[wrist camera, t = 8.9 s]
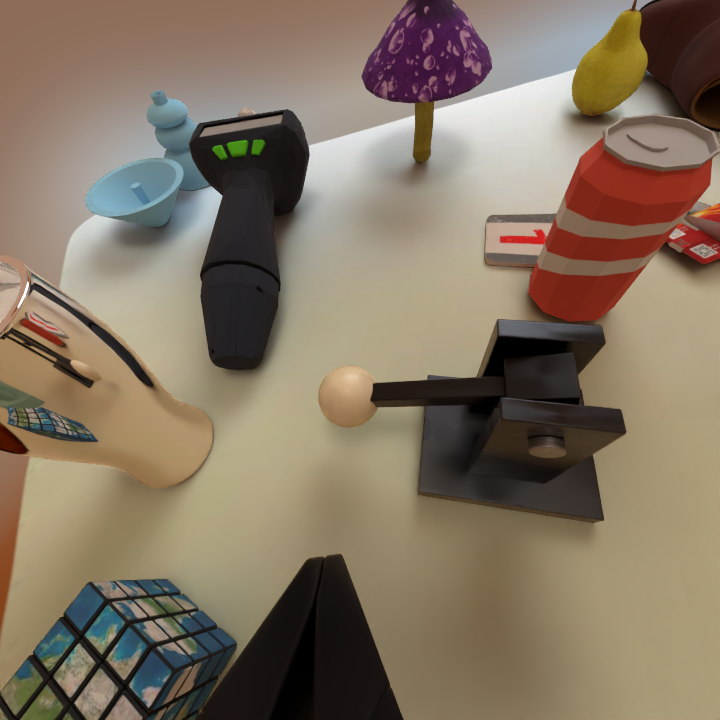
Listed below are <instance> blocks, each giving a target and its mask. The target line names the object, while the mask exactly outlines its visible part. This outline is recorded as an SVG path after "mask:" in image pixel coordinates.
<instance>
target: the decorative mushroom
mask: <svg viewBox="0 0 720 720" xmlns="http://www.w3.org/2000/svg"><path fill="white" fill-rule="evenodd" d="M491 69H492V62H491V57H490V54H489V50H488V47H487V46H486V45H485V43H483V41H482V40H481V39H480V38H479V36H478V34H477V33H476V31H475V29H474V28H473V26H472V24H471V23H470V21H469V19H468V18H467V16H466V15H465V13H464V12H463V11H462V10H461V9H459V8H458V6H457V5H456V4H455V3H454V2H453V1H452V0H408V1H407V2H406V4H405V5H404V7H403V8H402V10H401V11H400V13H399V14H398V15H397V16H396V18H395V19H394V20H393V21H392V23H391V24H390V26H389V27H388V29H387V31H386V32H385V34H384V36H383V38H382V39H381V41H380V43H379V44H378V46H377V48H376V49H375V50H374V51H373V52H372V54H371V55H370V56H369V58H368V60H367V63H366V66H365V68H364V71H363V74H362V79H363V82H364V84H365V87H366V89H367V90H368V91H370V92H371V93H372V94H374V95H375V96H377V97H379V98H382V99H386V100H389V101H393V102H403V103H415V134H414V149H413V157H414V159H415V160H416V161H417V162H425V161H427V160H428V158H429V157H430V155H431V149H430V147H431V137H432V128H433V112H434V101H438V100H443V99H448V98H452V97H455V96H458V95H460V94H463V93H465V92H468V91H470V90H471V89H473V88H474V87H476V86H477V85H479V84H480V83H482V81H483V80H484V79H485V78H486V76H487V75H488V73H489V71H490V70H491Z"/></svg>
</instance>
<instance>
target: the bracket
mask: <svg viewBox="0 0 720 720" xmlns="http://www.w3.org/2000/svg"><path fill="white" fill-rule="evenodd" d="M605 343H606V342H605V337H604V333H603V329H602V326H600V325H584V324H568V323H552V322H536V321H520V320H504V319H498V320H497V322H496V324H495V327H494V330H493V333H492V335H491V338H490V341H489V344H488V346H487V349H486V352H485V355H484V357H483V360H482V363H481V366H480V368H479V371H478V374H477V377H493V376H505V369H504V359H505V358H510V357H523V356H536V355H549V354H561V353H574V357H575V362H576V368H577V374H578V375H579V373H580V372H581V371H582V370H583V369H584V368H585V367H586V365H587V364H588V363H589V362H590V361H591V360H592V359H593V358H594V356H595V355H596V354H597V353H598V352H599V351H600V350H601V348H602V347H603V346H604V345H605ZM439 379H457V378H455V377H444V376H433V375H428V378H427V380H439ZM580 392H581V403H580V405H574V404H564V403H554V402H544V401H535V400H525V399H515V398H505V397H501V398H500V399H499V401H498V403H497V405H453V406H425V413H424V425H423V438H422V450H421V462H420V474H419V486H418V495H422V496H428V497H434V498H441V499H447V500H453V501H459V502H466V503H472V504H478V505H484V506H491V507H497V508H503V509H510V510H516V511H522V512H528V513H535V514H541V515H547V516H553V517H560V518H566V519H572V520H579V521H585V522H591V523H595V522H599V521H603V520H604V516H603V511H602V505H601V499H600V493H599V487H598V482H597V476H596V470H595V464H594V459H593V454H594V453H596V452H597V451H599V450H600V449H602V448H604V447H605V446H607V445H608V444H610V443H612V442H613V441H615V440H616V439H618V438H620V437H621V436H623V435H624V434H626V428H625V424H624V420H623V415H622V411H621V410H620V409H613V408H603V407H593V406H584V401H583V395H582V390H581V389H580Z"/></svg>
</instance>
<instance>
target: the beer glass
mask: <svg viewBox="0 0 720 720" xmlns="http://www.w3.org/2000/svg"><path fill="white" fill-rule="evenodd" d="M212 441H213V428H212V424H211V421H210V419H209V418H208V416H207V415H206V414H205V413H204V412H203V411H201V410H200V409H198V408H196V407H194V406H191V405H189V404H186V403H183V402H181V401H179V400H177V399H176V398H174V397H173V396H172V395H171V394H170V393H168V392H167V390H166V389H165V388H164V387H163V386H162V385H161V383H160V382H159V381H158V379H157V378H156V377H155V376H154V374H153V373H152V372H151V371H150V369H149V368H148V367H147V366H146V364H145V363H144V362H143V361H142V359H141V358H140V357H139V356H138V355H137V354H136V352H135V351H134V350H133V349H132V348H131V347H130V346H129V345H128V344H127V343H126V342H125V340H124V339H122V338H121V337H120V336H119V335H118V334H117V333H116V332H115V331H113V330H112V329H111V328H110V327H109V326H108V325H107V324H105V323H104V322H103V321H102V320H101V319H99V318H98V317H97V316H95V315H94V314H93V313H91V312H90V311H89V310H88V309H86V308H85V307H84V306H82V305H81V304H80V303H78V302H77V301H75V300H74V299H72V298H71V297H70V296H68V295H67V294H65V293H64V292H62V291H61V290H60V289H58V288H57V287H55V286H54V285H52V284H51V283H49V282H48V281H46V280H45V279H43V278H42V277H40V276H39V275H37V274H36V273H34V272H33V271H32V270H30V269H29V268H28V267H26V265H25V264H23V263H22V262H21V261H19V260H17V259H15V258H13V257H9V256H3V255H0V450H2V451H5V452H9V453H13V454H19V455H25V456H31V457H37V458H43V459H50V460H59V461H68V462H77V463H87V464H96V465H104V466H110V467H114V468H118V469H120V470H123V471H125V472H126V473H128V474H129V475H131V476H132V477H133V478H135V479H136V480H137V481H139V482H140V483H142V484H144V485H146V486H148V487H152V488H166V487H170V486H174V485H176V484H178V483H181V482H182V481H184V480H186V479H187V478H189V477H190V476H191V475H192V474H193V473H195V472H196V471H197V470H198V469H199V467H200V466H201V465H202V464H203V462H204V461H205V459H206V457H207V456H208V454H209V451H210V449H211V446H212Z"/></svg>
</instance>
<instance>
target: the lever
mask: <svg viewBox="0 0 720 720" xmlns="http://www.w3.org/2000/svg"><path fill="white" fill-rule="evenodd" d="M504 369H505V376H493V377H475V378H457V379H439V380H422V381H404V382H386V383H376V381H375V379H374V378H373V377H372V376H371V375H370V374H369V373H368V372H367V371H365V370H364V369H362V368H359V367H356V366H342V367H339V368H336V369H334V370H333V371H331V372H330V373H329V374H328V375H327V376H326V377H325V378H324V379H323V381H322V383H321V385H320V388H319V393H318V400H319V405H320V408H321V410H322V412H323V414H324V415H325V416H326V418H327V419H328V420H330V421H331V422H332V423H334V424H336V425H338V426H342V427H356V426H359V425H362V424H364V423H365V422H367V421H368V420H369V419H370V418H371V417H372V416H373V415H374V413H375V412H376V410H377V408H378V407H408V406H453V405H497V403H498V401H499V399H500V398H501V397H505V398H515V399H525V400H535V401H544V402H554V403H564V404H574V405H580V403H581V392H580V386H579V380H578V374H577V368H576V362H575V357H574V353H561V354H549V355H536V356H523V357H510V358H505V359H504Z"/></svg>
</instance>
